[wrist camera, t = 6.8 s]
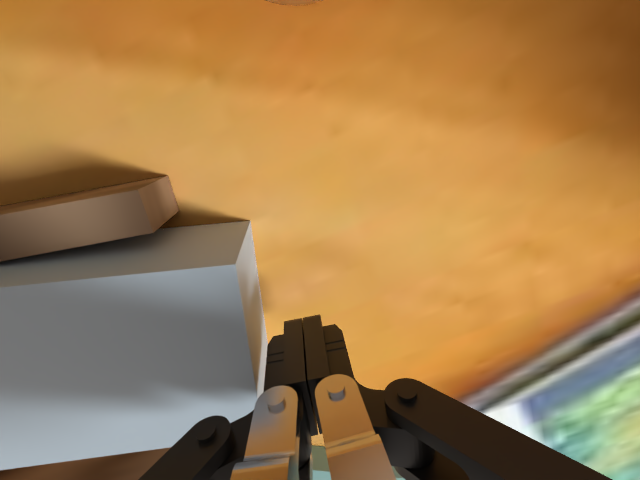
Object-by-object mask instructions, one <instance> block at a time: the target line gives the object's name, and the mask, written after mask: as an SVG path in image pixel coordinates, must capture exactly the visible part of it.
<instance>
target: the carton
mask: <svg viewBox="0 0 640 480" xmlns="http://www.w3.org/2000/svg"><path fill="white" fill-rule="evenodd" d="M267 346H268V342H267V335H266V328H265V321H264V314H263V307H262V299H261V292H260V285H259V278H258V271H257V264H256V257H255V250H254V243H253V236H252V229H251V221H240V222H229V223H217V224H206V225H195V226H184V227H173V228H162V229H157V230H156V231H155V232H154V233H150V234H144V235H139V236H134V237H128V238H123V239H118V240H112V241H107V242H102V243H96V244H91V245H86V246H81V247H75V248H70V249H65V250H59V251H54V252H49V253H43V254H38V255H33V256H27V257H22V258H17V259H11V260H6V261H1V262H0V470H7V469H14V468H21V467H29V466H36V465H44V464H51V463H59V462H66V461H73V460H81V459H88V458H96V457H103V456H110V455H118V454H125V453H133V452H140V451H147V450H155V449H162V448H170V447H172V446H173V445H174V444H175V443H176V442H177V441H178V440H179V439H180V438H182V437H183V436H184V435H185V434H186V433H187V432H188V431H189V430H190V429H191V428H192V427H193V426H194V425H195V424H196V423H198V422H199V421H201V420H203V419H205V418H207V417H210V416H215V415H219V416H223V417H225V418H227V419H228V420H229V422H230V423H231V422H234V421H236V420H238V419H240V418H242V417H244V416H246V415H247V414H249V413H250V412H252V411H253V410H254V407H255V403H256V401H257V399H258V398H259V396H260V395H261V394H262V393H263V391H264V379H265V368H266V357H267Z"/></svg>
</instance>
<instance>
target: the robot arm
mask: <svg viewBox="0 0 640 480" xmlns="http://www.w3.org/2000/svg"><path fill="white" fill-rule="evenodd" d="M317 424H318V428H319V433H320V434H322V433H323V438H324V443H325V450H326V455H327V460H328V465H329V470H330V475H331V480H396V477H395V475H394V472H393V469H392V467H391V466H394V468H395V470H396V471H397V473H398V474H399V475H400V476H402V477H403V478H404V479H406V480H612V479H610V478H608V477H606V476H604V475H602V474H600V473H598V472H597V471H595V470H593V469H591V468H589V467H587V466H585V465H583V464H581V463H579V462H577V461H575V460H573V459H571V458H569V457H567V456H565V455H563V454H561V453H559V452H557V451H555V450H553V449H551V448H549V447H547V446H545V445H543V444H541V443H540V442H538V441H536V440H534V439H532V438H530V437H528V436H526V435H524V434H522V433H520V432H518V431H516V430H514V429H512V428H510V427H508V426H506V425H504V424H502V423H500V422H498V421H496V420H494V419H492V418H490V417H488V416H486V415H484V414H483V413H481V412H479V411H477V410H475V409H473V408H471V407H469V406H467V405H465V404H463V403H461V402H459V401H457V400H455V399H453V398H451V397H449V396H447V395H445V394H443V393H441V392H439V391H437V390H435V389H433V388H431V387H429V386H427V385H426V384H424V383H422V382H420V381H417V380H414V379H409V378H402V379H397V380H395V381H393V382H391V383H390V384H389V385H388V386H387V387H386V389H385V390H373V389H369V388H366V387H364V386H362V385H360V384H359V383H358V382H357V381H356V380H355V378H354V375H353V372H352V368H351V364H350V360H349V356H348V352H347V349H346V345H345V341H344V337H343V333H342V330H341V329H339V328H338V327H337V326H336V325H335V324H334V325H328V326H323V327H322V322H321V317H320V315H315V316H310V317H305V318H303V321H302V318H300V319H295V320H290V321H284V334H283V335H278V336H273V338H272V339H271V341H270V342H269V344H268V346H267V357H266V368H265V379H264V391H263V393H262V394H261V395H260V396H259V398H258V399H257V401H256V403H255V407H254V410H253V411H252V412H250V413H249V414H247V415H246V416H244V417H242V418H240V419H238V420H236V421H234V422H231V423H230V422H229V420H228V419H227V418H225V417H223V416H219V415H215V416H210V417H207V418H205V419H203V420H201V421H199V422H198V423H196V424H195V425H194V426H193V427H192V428H191V429H190V430H189V431H188V432H187V433H186V434H185V435H184V436H183V437H182V438H180V439H179V440H178V441H177V442H176V443H175V444H174V445H173V446H172V447H171V448H170V449H169V450H168V451H167V452H166V453H165V454H164V455H163V456H162V457H161V458H160V459H159V460H158V461H157V462H156V463H155V464H154V465H153V466H152V467H151V468H150V469H149V470H148V471H147V472H145V473H144V474H143V475H142V476H141V477H140V478H139V479H138V480H313V458H312V453H311V451H312V443H311V436H313V435H318V429H317Z"/></svg>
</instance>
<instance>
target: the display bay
mask: <svg viewBox="0 0 640 480" xmlns="http://www.w3.org/2000/svg"><path fill="white" fill-rule="evenodd" d="M178 211H179V208H178V205H177V202H176V199H175V196H174V193H173V190H172V187H171V184H170V181H169V177H168V176H163V177H157V178H152V179H146V180H141V181H135V182H130V183H124V184H119V185H113V186H108V187H102V188H97V189H91V190H86V191H80V192H75V193H70V194H64V195H59V196H53V197H48V198H42V199H37V200H31V201H26V202H20V203H15V204H9V205H4V206H0V262H1V261H6V260H11V259H17V258H22V257H27V256H33V255H38V254H43V253H49V252H54V251H59V250H65V249H70V248H75V247H81V246H86V245H91V244H96V243H102V242H107V241H112V240H118V239H123V238H128V237H134V236H139V235H144V234H150V233H154V232H155V231H156V230H157V229H158V228H160V227H161V226H162V225H163V224H164V223H165V222H167V221H168V220H169V219H170V218H171V217H172V216H174V215H175V214H176V213H177V212H178ZM170 448H171V447H170ZM170 448H162V449H155V450H147V451H140V452H133V453H125V454H118V455H110V456H103V457H96V458H88V459H81V460H73V461H66V462H59V463H51V464H44V465H36V466H29V467H21V468H14V469H7V470H0V480H138V479H139V478H140V477H141V476H142V475H143V474H144V473H145V472H147V471H148V470H149V469H150V468H151V467H152V466H153V465H154V464H155V463H156V462H157V461H158V460H159V459H160V458H161V457H162V456H163V455H164V454H165V453H166V452H167V451H168V450H169V449H170Z"/></svg>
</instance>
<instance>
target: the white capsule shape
mask: <svg viewBox="0 0 640 480" xmlns="http://www.w3.org/2000/svg"><path fill="white" fill-rule="evenodd" d="M266 1H269V2H272V3H277V4H281V5H293V6H298V5H308V4H312V3H316V2H320V1H323V0H266Z"/></svg>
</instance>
